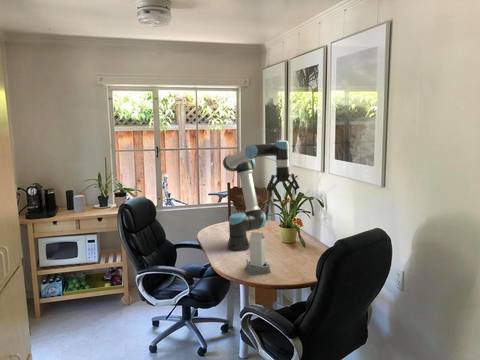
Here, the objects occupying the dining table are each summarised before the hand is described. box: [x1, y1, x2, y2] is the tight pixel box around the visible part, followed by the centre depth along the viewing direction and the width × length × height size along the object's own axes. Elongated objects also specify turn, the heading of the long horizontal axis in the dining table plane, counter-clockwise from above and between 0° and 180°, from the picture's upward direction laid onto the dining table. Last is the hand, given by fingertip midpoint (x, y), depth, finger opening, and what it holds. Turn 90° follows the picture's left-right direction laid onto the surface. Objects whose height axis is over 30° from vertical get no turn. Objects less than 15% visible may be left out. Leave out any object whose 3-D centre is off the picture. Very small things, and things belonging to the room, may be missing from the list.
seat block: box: [245, 258, 272, 276], centre depth 223 cm, size 12×12×5 cm
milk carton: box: [248, 231, 267, 267], centre depth 221 cm, size 7×7×19 cm
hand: (283, 200), depth 235 cm, fingers open, 13 cm apart
